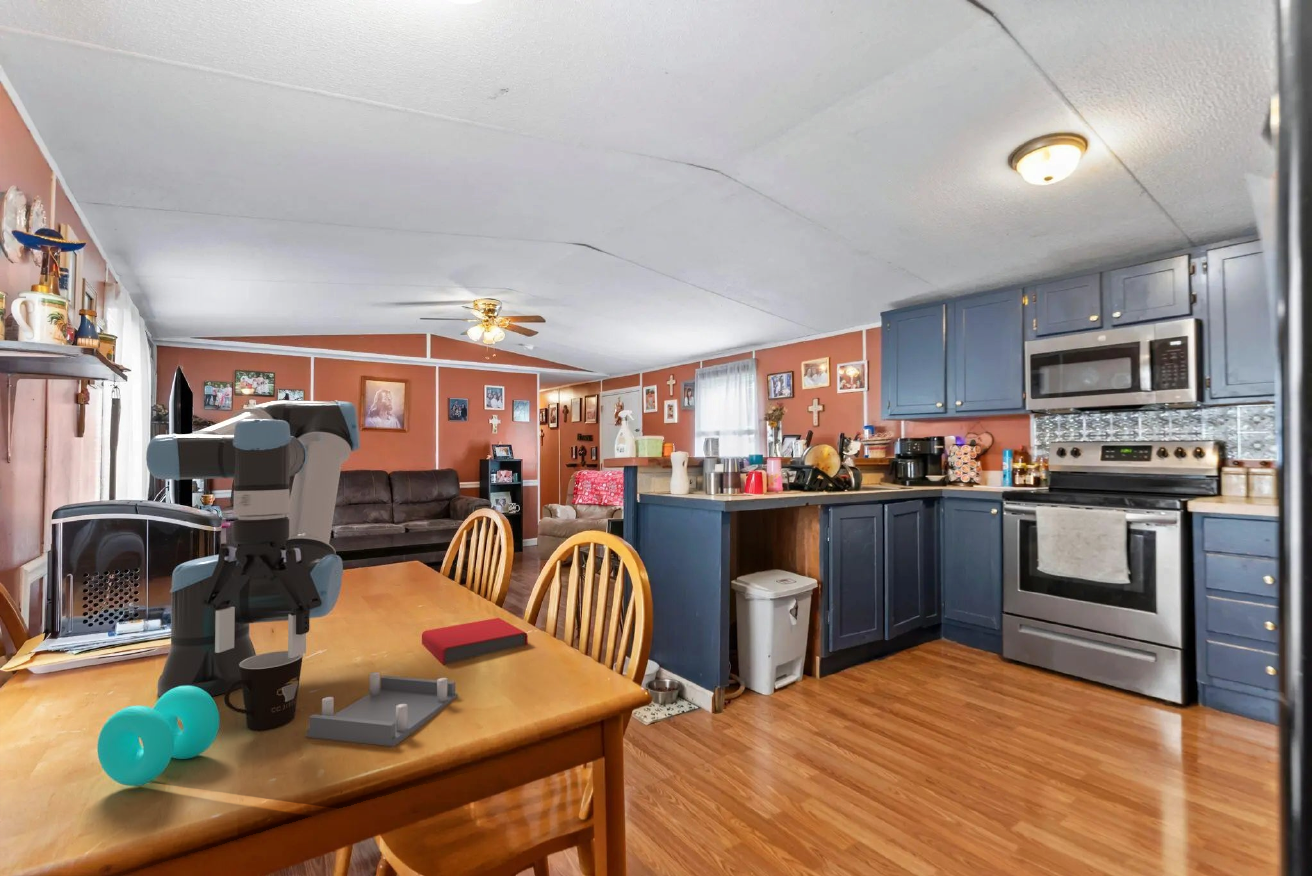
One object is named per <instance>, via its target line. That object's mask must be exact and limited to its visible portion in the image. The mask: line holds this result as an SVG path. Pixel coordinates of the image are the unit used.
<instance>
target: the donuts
mask: <svg viewBox="0 0 1312 876" xmlns="http://www.w3.org/2000/svg"><path fill="white" fill-rule="evenodd" d="M219 712H220V711H219V709H218V706H217V704H216V702H215V700H214V699H213V696H210V695H209V694H208V693H207V692H206V691H204V690H202V689H201V688H198V687H195V686H179V687H176V688H173V689H171V690H169V691H168V692H166V693H165V694H163V695H162V696H161V697H160V696H159V698H158V700H157V701H156V702H155V704H154V706H153V707H150V706H146V705H131V706H127V707H124V708H122V709H120V710H118V711H117V712H115V713H114V714H112V715H111V716H110V717H109V718H108V719H107V721H106V722H105V723H104V725H103V726H102V728H101V730H100V732H99V736H98V740H97V748H96V749H97V757H98V761H99V763H100V766H101V768H102V770H104V772H105V774H106V775H107V776H108V777H109V778H110V779H111V780H113V781H115V782H116V783H118V784H121V785H124V786H127V787H128V786H131V787H132V786H133V787H135V786H136V787H137V786H140V785H145V784H147V783H150V782H151V781H153V780H154V779H157V778H158V777H159V776H160V775H161V774H162V773H163V772H164V771H165V769H166V768H167V767H168V765H169V763H170V761H171V759H172V758H173V759H178V760H188V759H193V758H195V757H197V756H199V755H200V754H202V753H204V752H205V751H206V750H207V749H209V748H210V747H211V746H212V745H213V742H214V741H215V740H216V737H217V735H218V733H219V728H220V713H219ZM178 720H179V721H180V722H181V724H182V729H181V728H180V726H179V723H178ZM140 740H141V743H142V744H141V743H140Z"/></svg>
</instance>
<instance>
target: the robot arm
mask: <svg viewBox="0 0 1312 876" xmlns="http://www.w3.org/2000/svg"><path fill="white" fill-rule="evenodd" d="M358 419H359V418H358V413H357V408H356V406H355V404H354V403H352V402H350V401H343V400H341V401H339V400H337V399H335V400H333V401H331V400H289V399H283V400H282V399H279V400H272V401H268V402H263V403H259V404H255V405H251V406H248V407H245V408H242V409H239V410H237V411H235V412H234V413H232V415H230V417H229V418H228V419H226V420H224V421H221V422H218V423H216V424H213V425H210V426H208V427H205V428H202V429H200V430H197V431H194V432H191V433H185V434H182V433H181V434H180V433H179V434H177V433H172V434H157V435H155V436H154V437H152V438H151V439H150V441H149V443H148V445H147V449H146V452H145V453H146V457H145V458H146V459H145V460H146V467H147V469H148V472H149V474H150V475H151V476H152V477H153V478H156V479H157V480H158V479H159V480H175V481H180V480H212V479H214V480H215V479H217V480H218V479H233V515H234V516H235V517H237V519H234V521H233V522H232V542H233V543H234V544H236V545H231V546H226V547H225V546H223V547H221V548H219V550H218V554H214V555H209V556H205V557H200V558H195V559H192V560H188V561H185V562H183V563H180V564H179V565H177V566H176V567H175V568H174V570H173V571H172V578H171V588H170V590H169V593H170V648H169V652H168V654H167V656H166V657H167V658H166V660H165V662H164V666H163V670H162V672H161V675H160V676H159V678H158V680H157V696H158V697H159V698H160V697H161V696H162V695H163V694H165V693H166V692H168V691H169V690H171V689H173V688H176V687H179V686H195V687H198V688H201V689H202V690H204V691H206V692H207V693H208V694H209V695H210V696H211V697H213V696H214V697H215V696H217V695H218V696H219V695H222V694H225V692H226V690H227V689H228V687H229V686H230V685H231V684H232V683H234V682H235V681H237V680H241V676H240V668H239V664H240V662H242V661H243V660H245V659H247V658H250V657H253V656H256V655H257V654H256V650H255V648H254V645H253V642H252V639H251V637H250V624H257V623H272V622H273V623H274V622H285V621H288V624H287V625H288V626H287V627H288V628H287V629H288V630H287V631H288V632H287V633H288V637H287V638H288V639H287V641H288V642H287V644H288V645H287V651H288V658H294V657H296V656H299V655H301V654H303V655H304V654H306V653H307V634H308V633H309V631H310V619H315V618H323V617H325V616H328V615H329V614H330V613H331V611H333V610H334V608H335V606H336V603H337V602H338V599H339V595H340V592H341V587H342V584H343V583H342V582H343V581H342V578H343V572H344V570H343V569H344V565H343V559H342V558H341V556H339V555H337V553H336V552H337V551H336V549H335V548H334V547H333V546H332V545H331V544H330V540H331V534H332V526H333V521H334V514H335V508H336V502H337V496H338V489H339V482H340V476H341V471H342V464H343V463H345V462H347V460H349V458H350V457H351V453H352V452H355V451H358V450H360V447H361V440H360V427H359V420H358ZM291 477H293V482H292V487H291V491H290V479H291ZM239 689H242V684H238V685H237V686H235V687H234V688H233V689H232V691H231V692H233V691H235V690H239Z"/></svg>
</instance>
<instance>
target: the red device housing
mask: <svg viewBox="0 0 1312 876" xmlns="http://www.w3.org/2000/svg"><path fill="white" fill-rule="evenodd" d="M528 636H529V635H528V633H527V632H525V631H524V630H522V629H520V628H518V627H516V626H515V625H513V624H511V623H509V622H507V621H505V620H504V619H503V618H501V617H495V618H490V619H484V620H479V621H472V622H466V623H461V624H456V625H449V626H444V627H439V628H432V629H426V630H424V631H423V632H422V634H421V644H422V645H423V647H424V648H425V649H426V650H427V651H428V652H429V653H430V654H431V655H432V656H433V657H434V658H435V659H436V660H437V661H439V663H440V664H441V665H442V666H445V665H446V664H449V663H455V662H457V661H458V662H459V661H462V660H466V659H470V658H474V657H478V656H484V655H488V654H492V653H496V652H500V651H501V652H502V651H504V650H509V649H512V648H517V647H521V646H528V641H529V640H528V638H529V637H528ZM444 664H445V665H444Z"/></svg>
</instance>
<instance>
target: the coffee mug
mask: <svg viewBox="0 0 1312 876" xmlns="http://www.w3.org/2000/svg"><path fill="white" fill-rule="evenodd" d="M303 656H304V654H301V655H299V656H296V657H294V658H288V650H278V651H270V652H265V653H260V654H256V656H253V657H250V658H247V659H245V660H243V661H242V662H240V664H239V668H240V676H241V680H237V681H235V682H234V683H232V684H231V685H230V686H229V687H228V689H227V690H226V692H225V693H224V699H223V701H224V704H225V705H226V707H227V708H229V709H230V710H232V711H233V712H236V713H239V714H243V715H245V722H246V727H247V730H249V731H251V732H267V731H271V730H276V729H280V728H281V727H284V726H286V725H289V724H290V723H291V722H292V721H293V720H294V719H295V716H296V709H297V702H298V695H299V686H300V679H301V674H302V673H301V672H302V665H303V664H302V663H303ZM238 684H242V688H241V691H242V696H243V705H244V709H243V708H240V707H238V706H237V707H236V706H234V705H233V704H232V702H231V700H230V695H231V693H232V692H233V691H232V689H233V688H234V687H235V686H237V685H238Z"/></svg>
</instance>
